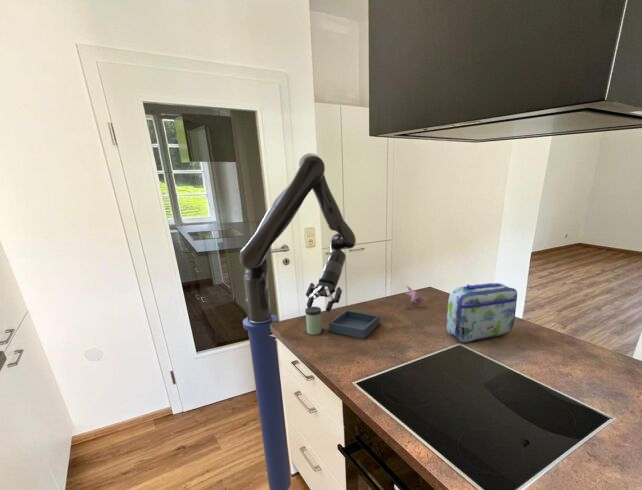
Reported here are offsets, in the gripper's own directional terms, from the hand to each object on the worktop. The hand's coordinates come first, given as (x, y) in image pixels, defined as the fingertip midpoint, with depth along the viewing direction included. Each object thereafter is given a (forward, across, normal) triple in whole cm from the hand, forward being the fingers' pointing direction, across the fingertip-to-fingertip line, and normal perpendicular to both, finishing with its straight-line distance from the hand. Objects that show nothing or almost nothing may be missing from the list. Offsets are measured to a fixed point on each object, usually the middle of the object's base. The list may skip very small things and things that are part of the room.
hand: (317, 309), depth 142 cm
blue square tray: (+1, +13, +10) cm, 17 cm away
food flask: (+8, 0, +4) cm, 9 cm away
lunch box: (-8, +60, +21) cm, 64 cm away
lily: (-23, +28, +35) cm, 50 cm away
